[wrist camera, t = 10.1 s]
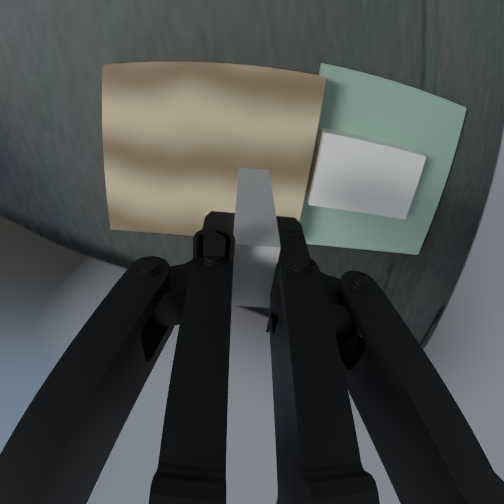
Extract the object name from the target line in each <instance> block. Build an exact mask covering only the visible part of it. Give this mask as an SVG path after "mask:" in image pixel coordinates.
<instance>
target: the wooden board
mask: <svg viewBox="0 0 504 504" xmlns="http://www.w3.org/2000/svg"><path fill="white" fill-rule="evenodd" d="M325 83H326V77H325V76H321V75H316V74H311V73H305V72H299V71H293V70H286V69H279V68H271V67H263V66H254V65H244V64H232V63H218V62H195V61H149V62H127V63H114V64H105V65H103V73H102V129H103V152H104V168H105V181H106V192H107V202H108V212H109V220H110V228H111V229H114V230H127V231H140V232H153V233H165V234H178V235H190V236H194V235H195V233H196V232H198V231H199V230H201V229H202V228H203V223H204V219H205V216H206V215H208V214H209V213H210V212H211V211H217V212H230V213H234V211H235V200H236V189H237V179H238V168H239V167H243V168H254V169H264V170H269V173H270V179H271V186H272V192H273V199H274V205H275V212H276V216H284V217H294V218H296V219H297V220H298V221H300V216H301V211H302V207H303V202H304V197H305V192H306V187H307V182H308V177H309V172H310V167H311V161H312V156H313V151H314V146H315V140H316V135H317V129H318V124H319V118H320V113H321V107H322V101H323V95H324V89H325Z"/></svg>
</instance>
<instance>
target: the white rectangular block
mask: <svg viewBox="0 0 504 504" xmlns="http://www.w3.org/2000/svg"><path fill="white" fill-rule="evenodd" d="M425 160H426V156H425V155H423V154H422V153H420V152H419V151H418V150H416V149H413V148H409V147H406V146H402V145H398V144H395V143H391V142H387V141H383V140H379V139H375V138H370V137H366V136H362V135H357V134H353V133H348V132H343V131H338V130H333V129H328V128H323V127H319V131H318V136H317V141H316V145H315V150H314V155H313V160H312V165H311V170H310V174H309V179H308V184H307V188H306V193H305V196H306V198H307V201H308V204H309V205H312V206H319V207H326V208H334V209H341V210H348V211H354V212H361V213H367V214H374V215H380V216H386V217H392V218H398V219H404V220H405V219H406V217H407V214H408V211H409V208H410V206H411V203H412V200H413V197H414V194H415V191H416V188H417V185H418V182H419V179H420V176H421V173H422V170H423V167H424V163H425Z"/></svg>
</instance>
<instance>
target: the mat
mask: <svg viewBox="0 0 504 504" xmlns="http://www.w3.org/2000/svg"><path fill="white" fill-rule="evenodd" d="M319 75H321V76H325V77H326V83H325V89H324V95H323V101H322V107H321V113H320V118H319V124H318V129H317V135H316V140H315V145H316V141H317V136H318V131H319V127H323V128H328V129H333V130H338V131H343V132H348V133H353V134H357V135H362V136H366V137H370V138H375V139H379V140H383V141H387V142H391V143H395V144H398V145H402V146H406V147H409V148H413V149H416V150H418V151H419V152H420V153H422V154H423V155H425V156H426V160H425V163H424V167H423V170H422V173H421V176H420V179H419V182H418V185H417V188H416V191H415V194H414V197H413V200H412V203H411V206H410V208H409V211H408V214H407V217H406V219H405V220H404V219H398V218H392V217H386V216H380V215H374V214H367V213H361V212H354V211H348V210H341V209H334V208H326V207H319V206H312V205H309V204H308V201H307V198H306V196H305V197H304V202H303V207H302V211H301V216H300V221H299V222H300V223H301V225H302V229H303V233H304V236H305V240H306V244H314V245H325V246H335V247H346V248H356V249H366V250H376V251H386V252H396V253H406V254H415V255H418V254H419V251H420V249H421V247H422V244H423V242H424V239H425V237H426V234H427V232H428V229H429V227H430V224H431V222H432V219H433V217H434V214H435V211H436V209H437V206H438V203H439V200H440V198H441V195H442V192H443V189H444V186H445V183H446V180H447V177H448V174H449V171H450V168H451V164H452V161H453V158H454V154H455V151H456V148H457V144H458V140H459V137H460V133H461V129H462V125H463V121H464V117H465V113H466V109H467V108H465V107H463V106H461V105H458V104H456V103H453V102H451V101H448V100H446V99H443V98H441V97H438V96H435V95H433V94H430V93H427V92H425V91H422V90H419V89H416V88H413V87H410V86H407V85H404V84H401V83H398V82H394V81H391V80H388V79H384V78H381V77H377V76H374V75H370V74H366V73H363V72H359V71H355V70H350V69H346V68H342V67H337V66H333V65H328V64H323V63H321V66H320V72H319ZM314 150H315V146H314ZM313 155H314V151H313ZM312 160H313V156H312ZM311 165H312V161H311ZM310 170H311V167H310ZM309 174H310V172H309ZM308 179H309V177H308ZM307 184H308V182H307ZM306 188H307V187H306ZM305 193H306V192H305Z"/></svg>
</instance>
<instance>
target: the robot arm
mask: <svg viewBox="0 0 504 504" xmlns="http://www.w3.org/2000/svg"><path fill="white" fill-rule="evenodd" d="M270 299H271V311H270V316H269V321H268V326H267V330H266V332H269V330H270V344H271V360H272V379H273V398H274V415H275V436H276V457H277V481H278V499H277V503H276V504H380V503H379V496H378V490H377V486H376V482H375V480H374V479H373V477H372V475H371V474H369V473H368V472H366V471H364V469H363V467H362V464H361V460H360V453H359V447H358V442H357V437H356V431H355V425H354V420H353V415H352V409H351V404H350V399H349V394H348V391H349V393H350V395H351V397H352V399H353V401H354V403H355V405H356V407H357V410H358V412H359V414H360V416H361V418H362V420H363V422H364V424H365V426H366V429H367V431H368V433H369V435H370V437H371V439H372V441H373V444H374V445H375V448H376V450H377V452H378V454H379V457H380V458H381V461H382V463H383V465H384V467H385V470H386V472H387V474H388V476H389V478H390V481H391V483H392V485H393V487H394V490H395V491H396V494H397V496H398V498H399V501H400V503H401V504H504V481H503V480H502V479H501V478H500V477H499V476H498V475H497V474H496V473H495V472H494V471H493V469H492V467H491V465H490V463H489V461H488V459H487V457H486V455H485V454H484V452H483V450H482V448H481V446H480V444H479V442H478V440H477V439H476V437H475V435H474V433H473V431H472V429H471V428H470V426H469V424H468V422H467V421H466V419H465V417H464V415H463V414H462V412H461V410H460V408H459V407H458V405H457V403H456V402H455V400H454V399H453V397H452V395H451V393H450V392H449V390H448V389H447V387H446V385H445V383H444V382H443V380H442V379H441V377H440V376H439V374H438V372H437V371H436V369H435V368H434V366H433V364H432V363H431V362H430V360H429V358H428V357H427V355H426V354H425V352H424V351H423V349H422V347H421V346H420V344H419V343H418V341H417V340H416V338H415V337H414V335H413V334H412V333H411V331H410V330H409V328H408V327H407V325H406V324H405V322H404V321H403V319H402V318H401V316H400V315H399V314H398V312H397V311H396V309H395V308H394V307H393V305H392V304H391V302H390V301H389V299H388V298H387V297H386V295H385V294H384V293H383V291H382V290H381V288H380V287H379V286H378V284H377V283H376V282H375V281H374V280H373V279H372V278H371V277H370V276H369V275H367V274H365V273H362V272H359V271H349V272H345V273H344V274H343V275H342V277H341V279H339V278H335V277H332V276H329V275H326V274H324V273H322V272H320V270H319V267H318V265H317V263H316V262H315V261H313V260H312V259H311V258H310V256H309V252H308V248H307V244H306V240H305V236H304V233H303V229H302V225H301V223H300V222H299V221H298V220H297V219H296V218H294V217H284V216H276V212H275V205H274V199H273V192H272V186H271V179H270V173H269V170H264V169H254V168H243V167H239V168H238V179H237V189H236V200H235V211H234V213H230V212H217V211H211V212H210V213H209V214H208V215H206V216H205V219H204V223H203V228H202V229H201V230H199V231H198V232H196V233H195V235H194V237H193V259H192V260H191V261H189V262H187V263H185V264H181V265H176V266H169V264H168V263H167V262H166V261H165V260H164V259H162V258H160V257H154V256H149V257H143V258H140V259H138V260H136V261H135V262H134V263H132V264H131V266H130V267H129V268H128V269H127V271H126V272H125V273H124V274H123V275H122V277H121V278H120V279H119V281H118V282H117V283H116V284H115V286H114V287H113V288H112V289H111V291H110V292H109V293H108V295H107V296H106V297H105V298H104V300H103V301H102V302H101V303H100V305H99V306H98V307H97V309H96V310H95V311H94V313H93V314H92V316H91V317H90V318H89V319H88V321H87V322H86V323H85V325H84V326H83V328H82V329H81V330H80V332H79V333H78V334H77V336H76V337H75V339H74V340H73V341H72V343H71V344H70V345H69V347H68V348H67V350H66V351H65V352H64V354H63V356H62V357H61V359H60V360H59V361H58V363H57V364H56V366H55V367H54V368H53V370H52V372H51V373H50V374H49V376H48V377H47V379H46V380H45V382H44V383H43V385H42V386H41V388H40V389H39V391H38V393H37V394H36V396H35V397H34V399H33V401H32V402H31V403H30V405H29V407H28V408H27V410H26V411H25V413H24V415H23V416H22V418H21V420H20V421H19V423H18V425H17V426H16V428H15V430H14V431H13V433H12V435H11V436H10V438H9V440H8V442H7V443H6V445H5V447H4V449H3V451H2V452H1V454H0V504H86V503H87V501H88V499H89V497H90V494H91V493H92V490H93V488H94V486H95V484H96V482H97V480H98V478H99V475H100V473H101V471H102V469H103V467H104V465H105V463H106V461H107V459H108V457H109V455H110V452H111V450H112V448H113V446H114V444H115V442H116V440H117V438H118V436H119V434H120V432H121V430H122V428H123V426H124V423H125V422H126V420H127V418H128V416H129V414H130V411H131V410H132V408H133V406H134V404H135V402H136V400H137V398H138V396H139V394H140V392H141V390H142V388H143V386H144V384H145V382H146V380H147V378H148V376H149V374H150V373H151V371H152V369H153V367H154V365H155V363H156V361H157V359H158V357H159V355H160V353H161V351H162V350H163V348H164V345H165V344H166V342H167V340H168V338H169V336H170V334H171V332H172V331H173V328H174V325H179V324H180V327H179V332H178V338H177V343H176V349H175V355H174V360H173V366H172V373H171V379H170V385H169V391H168V398H167V404H166V411H165V418H164V425H163V433H162V441H161V448H160V456H159V464H158V468H157V472H156V473H155V475H154V477H153V480H152V483H151V489H150V498H149V504H226V437H227V404H228V375H229V373H228V372H229V349H230V324H231V305H236V306H250V307H265V308H269V304H270Z"/></svg>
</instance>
